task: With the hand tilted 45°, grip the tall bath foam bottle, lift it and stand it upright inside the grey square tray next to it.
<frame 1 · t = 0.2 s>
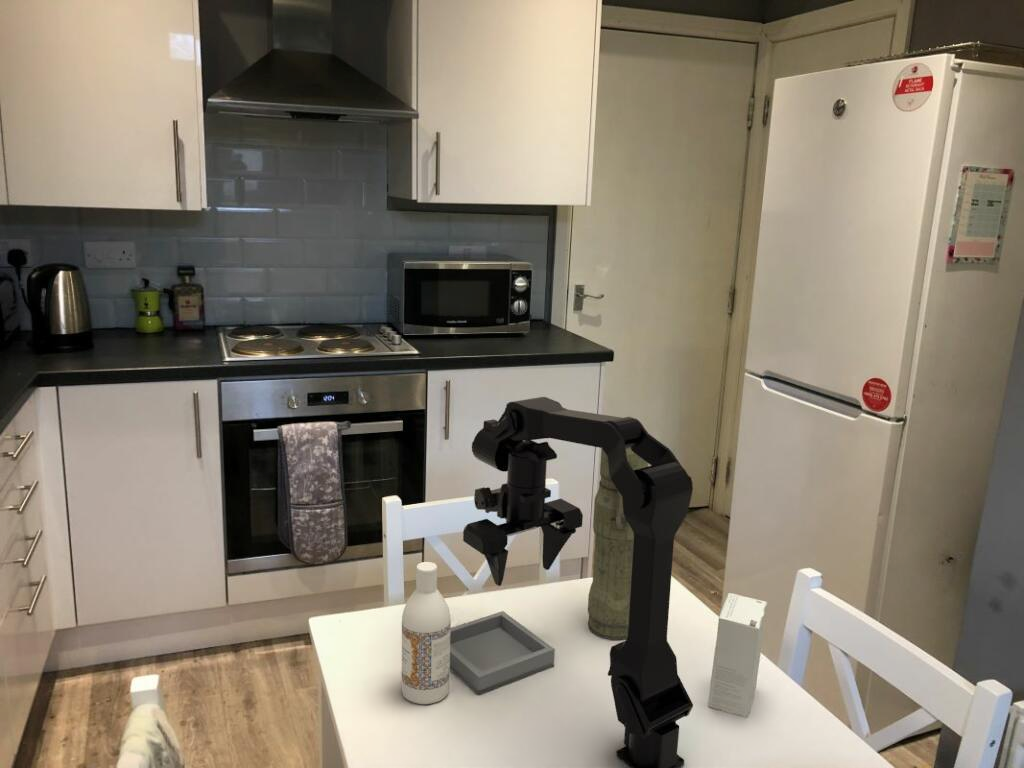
hand: (522, 576, 128), 14 cm above the table, tool pointing down, fingers open, 9 cm apart
bath foam: (425, 693, 123), on the table
grey square tray: (491, 658, 132), on the table
thermos: (613, 627, 142), on the table
skincare box: (732, 700, 123), on the table
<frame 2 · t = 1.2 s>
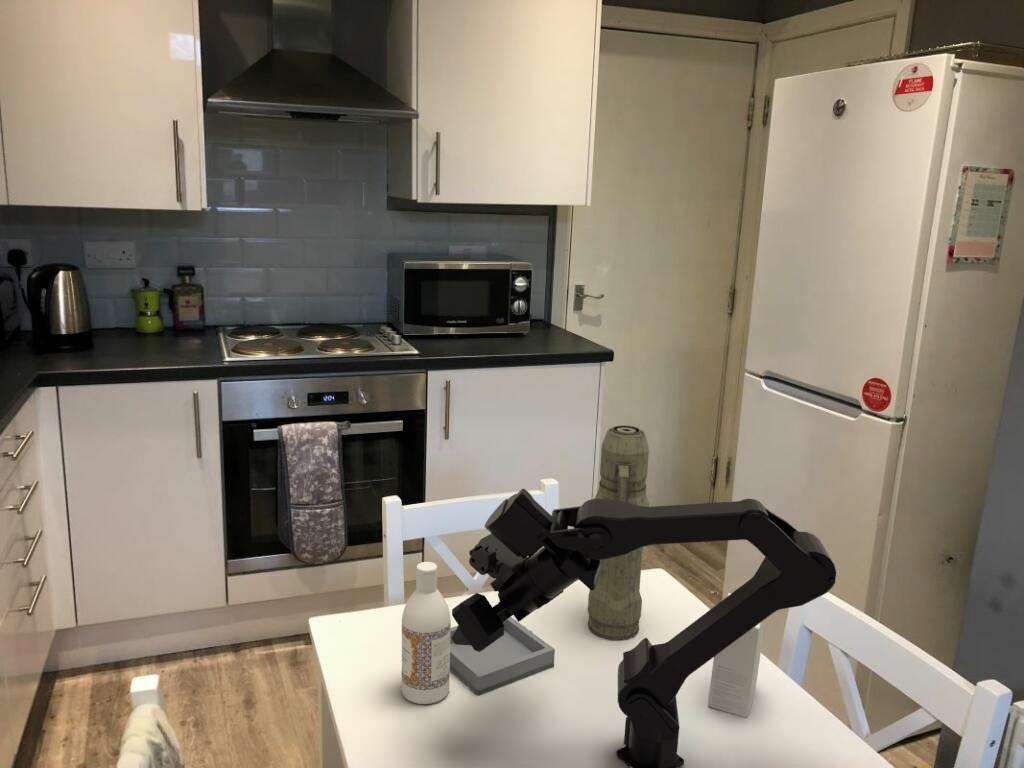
hand: (474, 626, 115), 13 cm above the table, tool tilted 45°, fingers open, 9 cm apart
nothing on the table moved.
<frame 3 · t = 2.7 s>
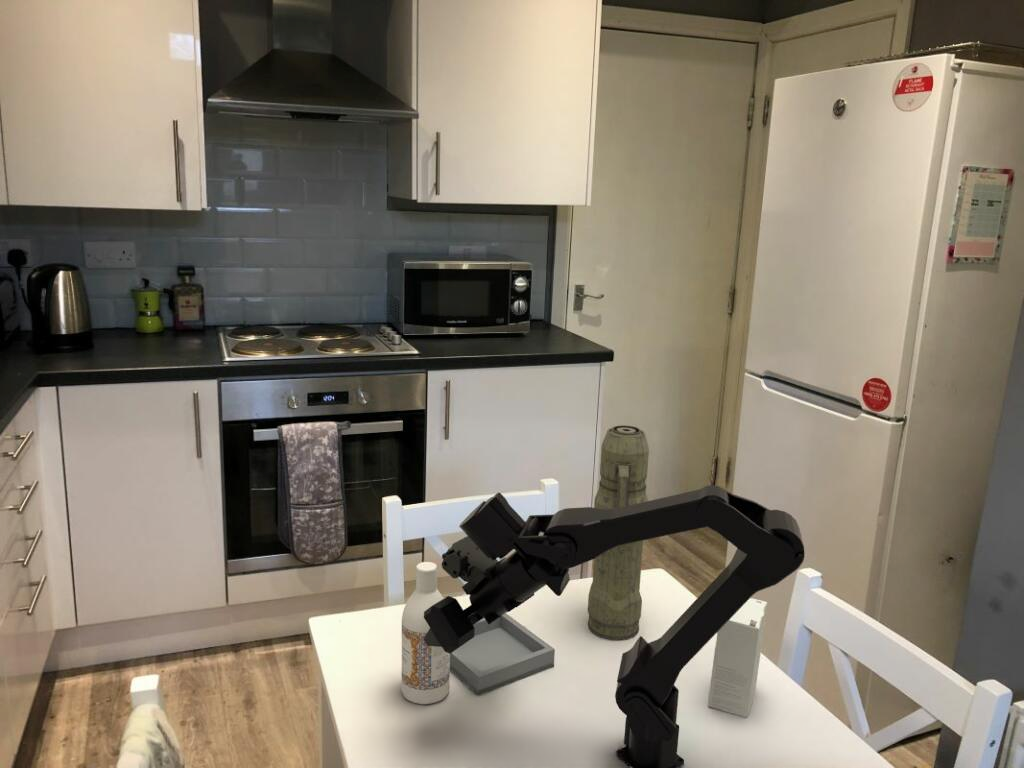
hand: (447, 628, 118), 12 cm above the table, tool tilted 45°, fingers open, 9 cm apart
nothing on the table moved.
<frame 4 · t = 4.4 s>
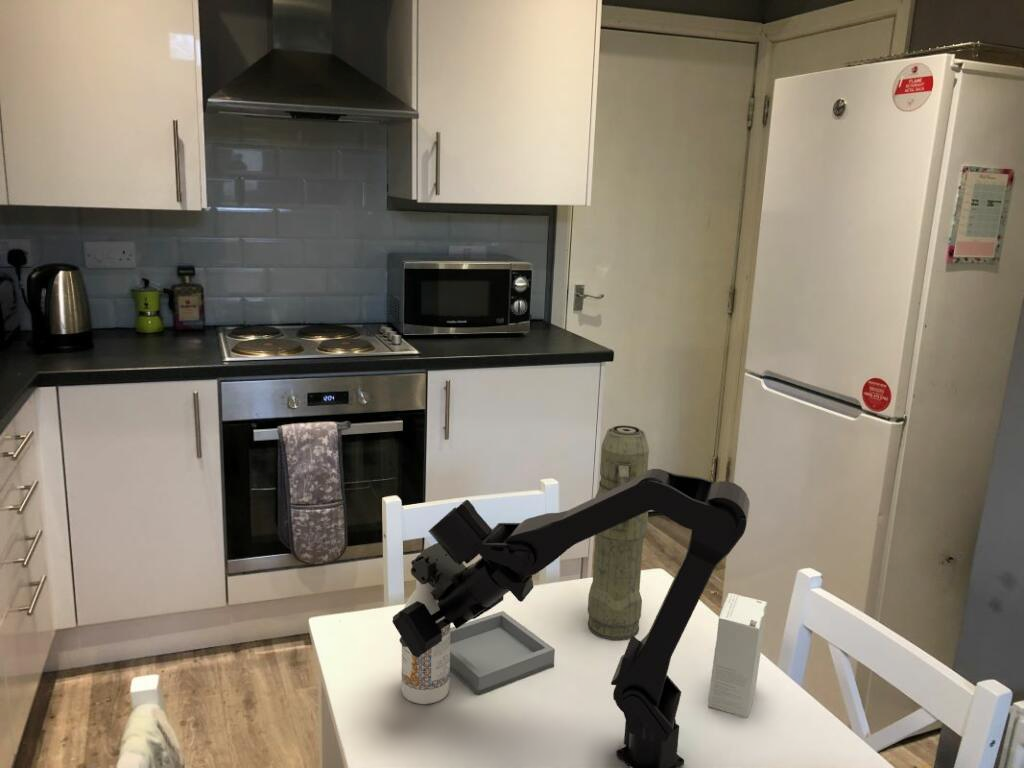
hand: (418, 632, 121), 9 cm above the table, tool tilted 45°, fingers closed on bath foam, 7 cm apart
bath foam: (425, 692, 123), on the table, touching gripper
everything else where it was.
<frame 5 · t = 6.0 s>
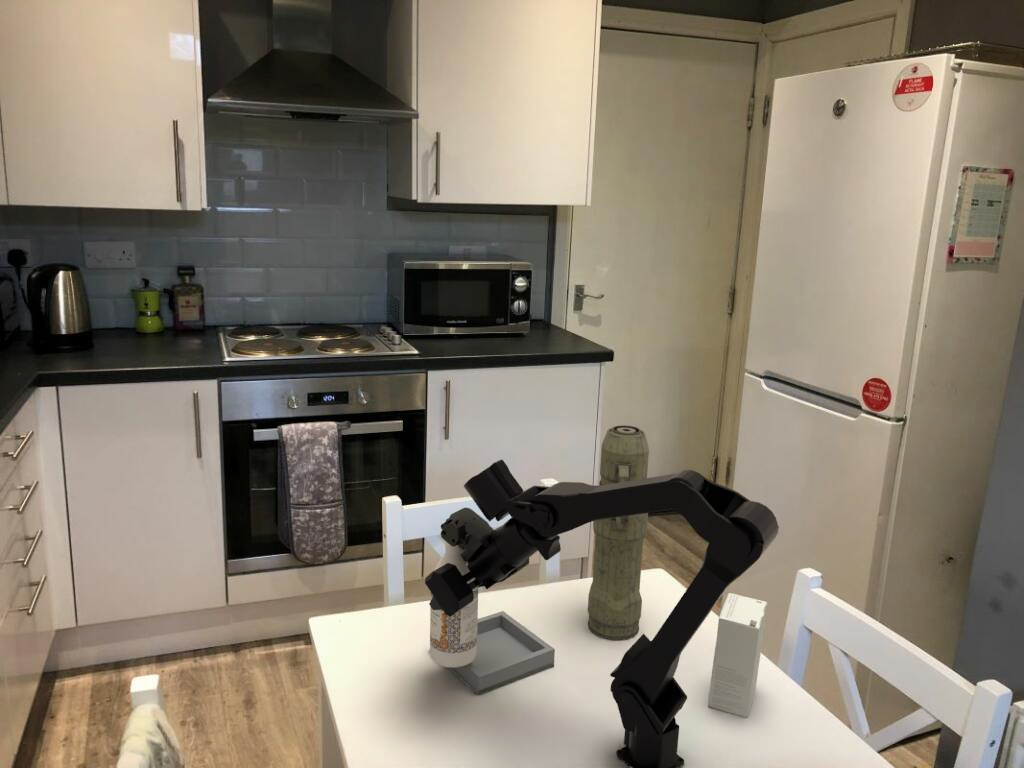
hand: (447, 596, 124), 13 cm above the table, tool tilted 45°, fingers closed on bath foam, 7 cm apart
bath foam: (453, 657, 125), point 4 cm above the table, touching gripper
everything else where it was.
when the fingers open (11 cm above the table, at t = 7.7 s): bath foam drops 1 cm, resting on grey square tray.
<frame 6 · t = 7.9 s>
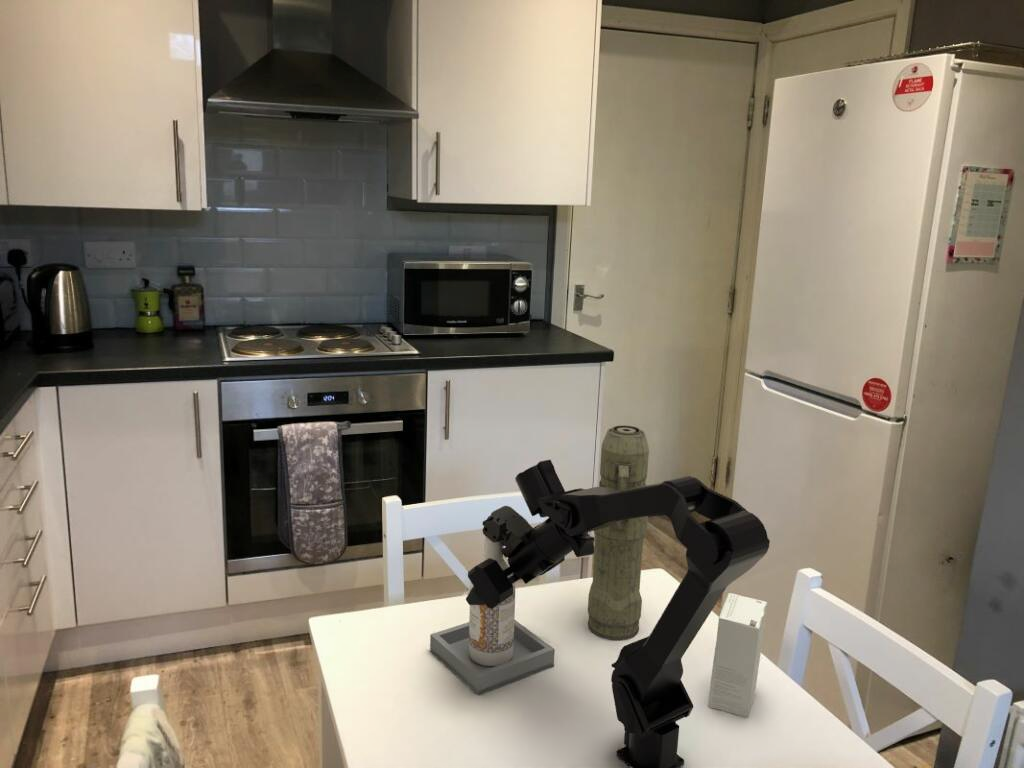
hand: (486, 590, 130), 11 cm above the table, tool tilted 45°, fingers open, 9 cm apart
bath foam: (490, 656, 131), point 1 cm above the table, touching grey square tray
everything else where it was.
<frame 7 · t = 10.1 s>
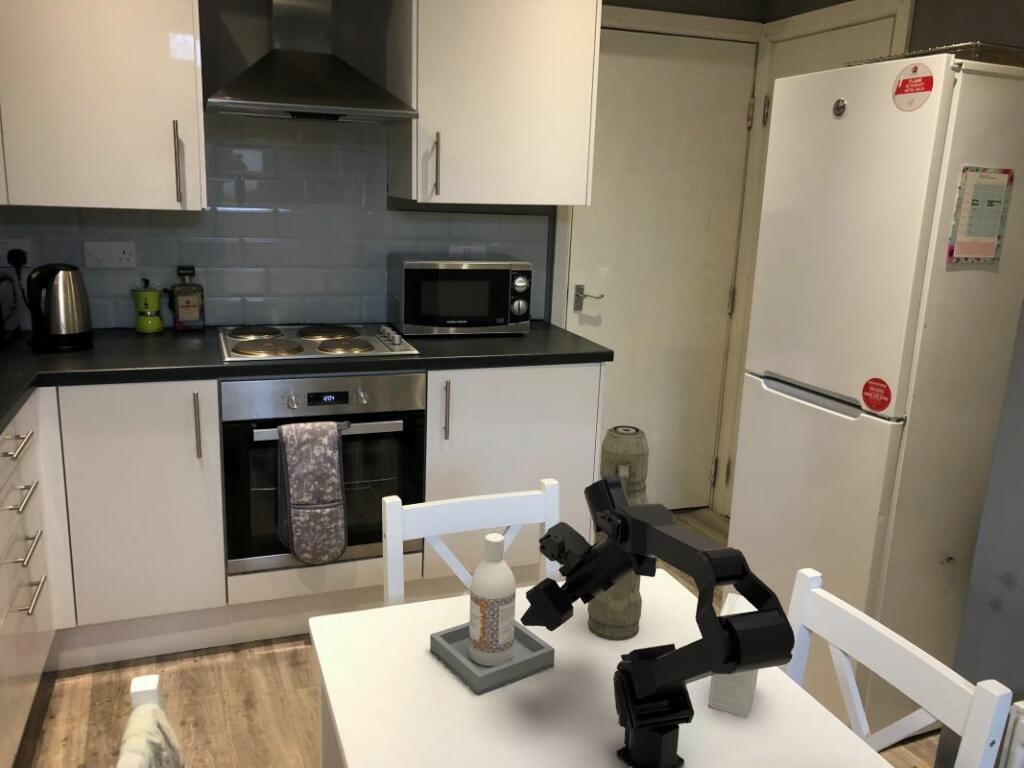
hand: (539, 609, 124), 11 cm above the table, tool tilted 45°, fingers open, 9 cm apart
nothing on the table moved.
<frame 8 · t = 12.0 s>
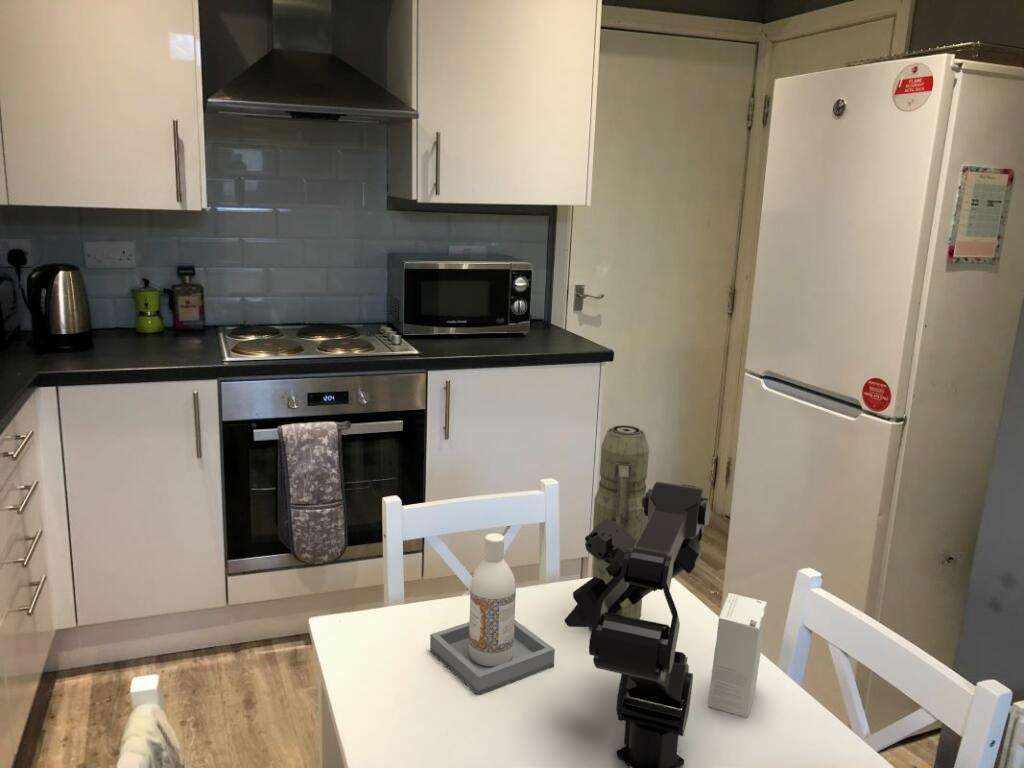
hand: (583, 610, 120), 14 cm above the table, tool tilted 45°, fingers open, 9 cm apart
nothing on the table moved.
at the end: bath foam inside the target area on the grey square tray (0.4 cm from its centre), point 0.6 cm above the grey square tray's base; bath foam tilted 0°; the gripper is holding nothing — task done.
